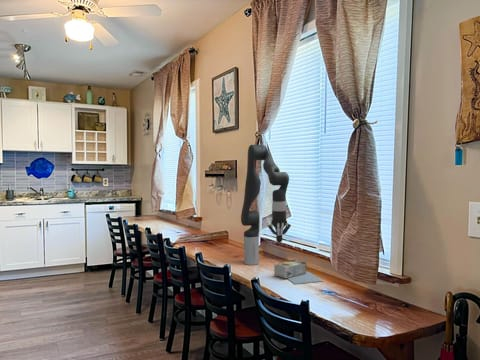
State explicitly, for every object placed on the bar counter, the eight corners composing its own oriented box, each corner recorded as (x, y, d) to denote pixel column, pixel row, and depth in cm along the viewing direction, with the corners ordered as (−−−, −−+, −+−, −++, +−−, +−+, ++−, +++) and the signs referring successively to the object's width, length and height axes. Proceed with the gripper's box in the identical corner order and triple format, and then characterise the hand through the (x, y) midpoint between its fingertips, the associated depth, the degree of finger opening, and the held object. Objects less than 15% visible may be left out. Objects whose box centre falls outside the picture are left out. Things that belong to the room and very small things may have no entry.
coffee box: (273, 263, 201) (294, 259, 211) (274, 275, 201) (294, 270, 211) (285, 267, 194) (306, 262, 203) (285, 279, 194) (306, 273, 204)
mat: (281, 274, 203) (281, 274, 203) (307, 272, 207) (307, 271, 207) (294, 284, 186) (294, 283, 186) (323, 281, 190) (323, 280, 190)
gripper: (288, 208, 198) (288, 240, 198) (265, 209, 194) (265, 241, 195) (293, 210, 190) (293, 242, 191) (269, 211, 187) (269, 244, 188)
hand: (279, 242), depth 193 cm, fingers closed
